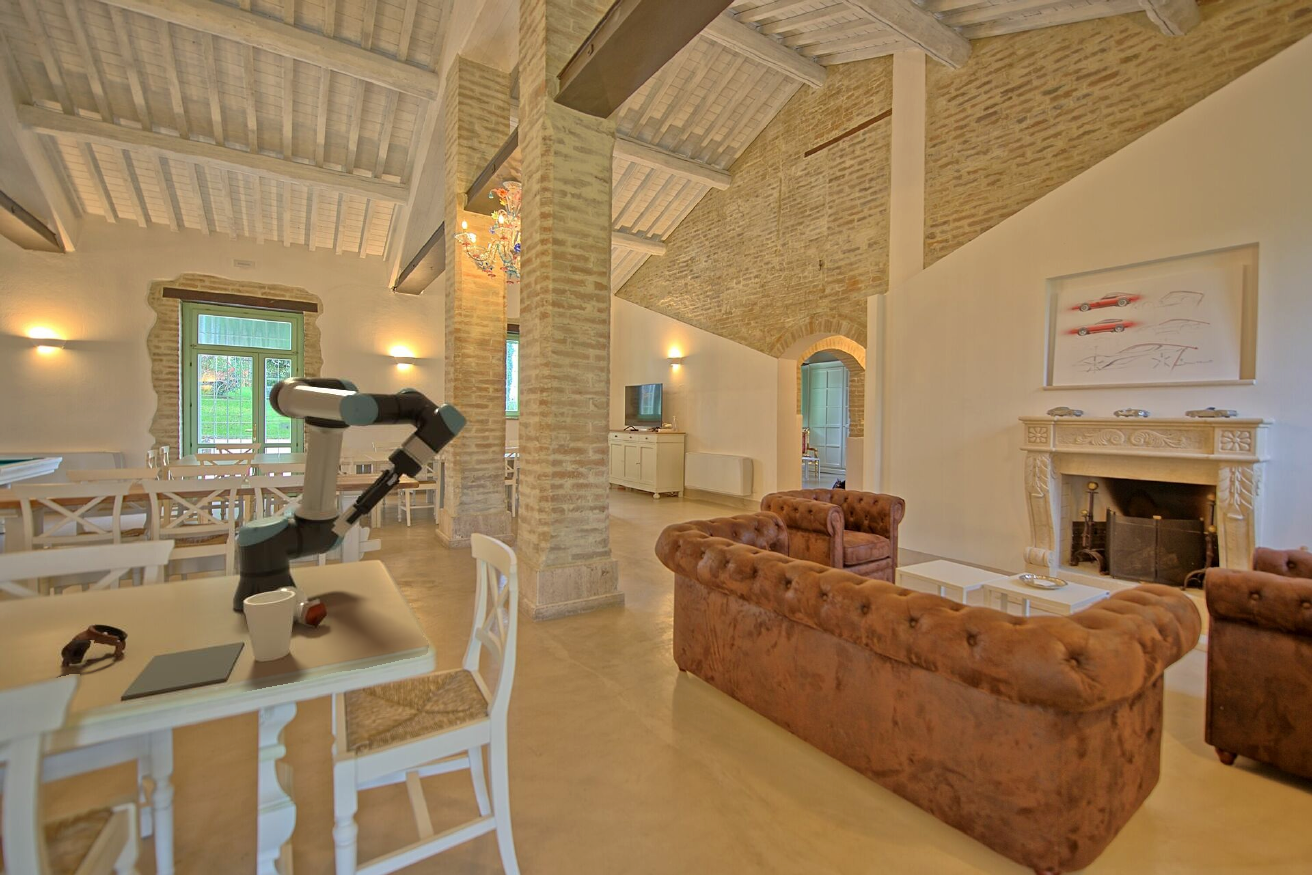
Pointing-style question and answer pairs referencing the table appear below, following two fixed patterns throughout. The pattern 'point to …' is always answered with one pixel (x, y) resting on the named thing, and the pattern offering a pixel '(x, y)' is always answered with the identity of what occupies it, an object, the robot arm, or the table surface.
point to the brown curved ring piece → (82, 642)
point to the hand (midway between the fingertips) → (337, 529)
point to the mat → (185, 670)
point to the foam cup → (270, 623)
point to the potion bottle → (306, 608)
